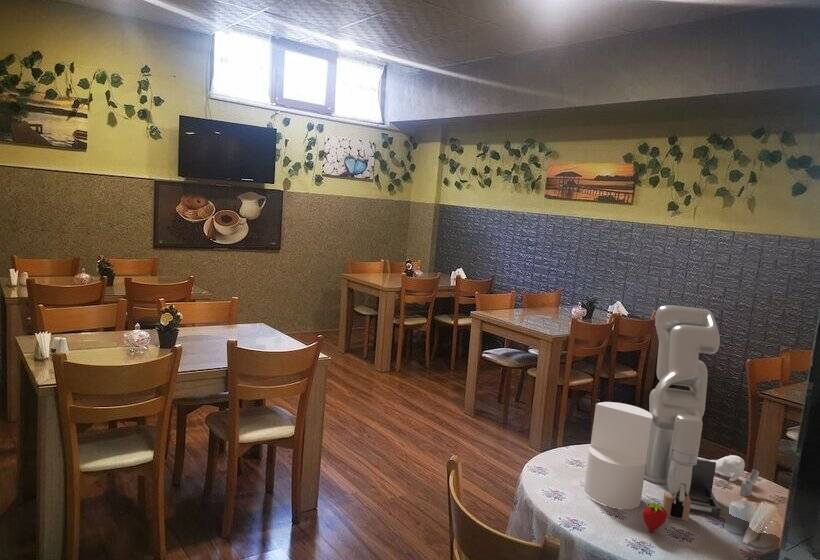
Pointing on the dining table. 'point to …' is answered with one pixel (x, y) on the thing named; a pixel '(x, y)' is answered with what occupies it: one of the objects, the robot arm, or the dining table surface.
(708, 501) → the rack
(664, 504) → the cardboard box
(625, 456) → the cylinder
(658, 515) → the strawberry
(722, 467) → the white rounded lump
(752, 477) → the lighter
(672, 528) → the dining table surface
